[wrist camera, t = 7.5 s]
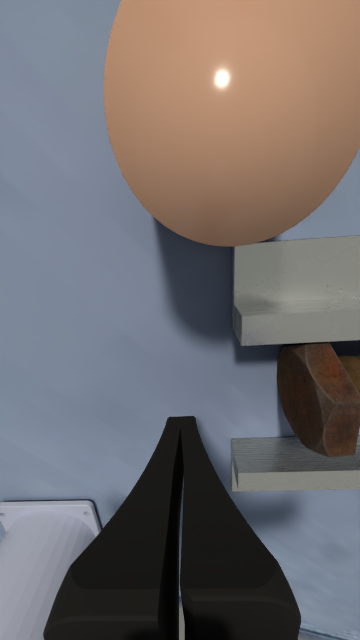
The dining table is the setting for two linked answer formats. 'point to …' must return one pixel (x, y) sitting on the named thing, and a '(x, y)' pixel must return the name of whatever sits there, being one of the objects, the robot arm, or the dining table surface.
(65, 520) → the robot arm
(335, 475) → the bracket
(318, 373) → the bolt
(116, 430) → the dining table surface
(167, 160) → the tan rounded block
